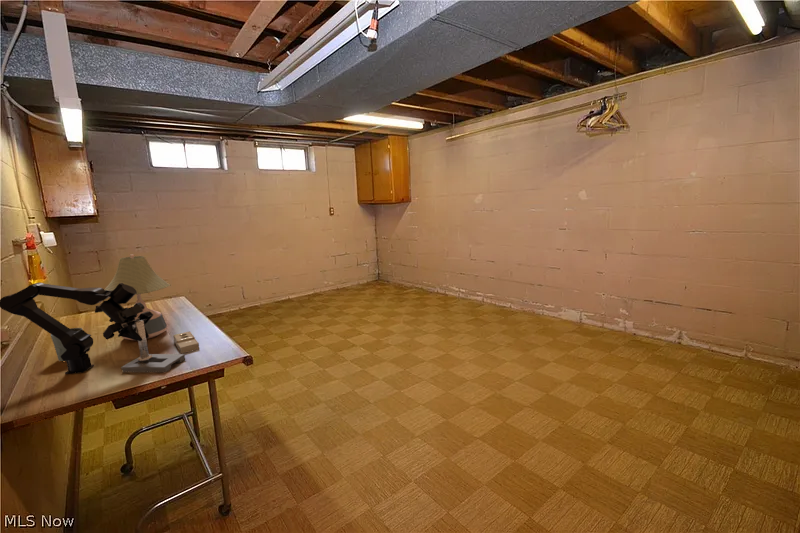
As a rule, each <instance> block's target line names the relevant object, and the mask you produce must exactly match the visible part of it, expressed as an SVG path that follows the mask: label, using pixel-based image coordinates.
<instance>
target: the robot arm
mask: <svg viewBox="0 0 800 533" xmlns="http://www.w3.org/2000/svg"><path fill="white" fill-rule="evenodd" d="M104 289H105V288H103V287H82V288H79V287H71V286H63V285H56V284H50V283H43V282H36V283H33V284H29V285H28V286H27V287H26V288H23V289H22V290H19V291H17V292H15V293H11V294H8V295H5V296H3V297H1V298H0V308H1V310H3V311H5V312H7V313H9V314H12V315H16V316H20V317H24V318H26V319H27V320H29V321H30V322H32V323H33V324H34V325H37V326H38V327H40V328H41V329H42V330H44V331H45V332H47V333H49V334H50V335H51V334H52V335H53V336H55V337H56V338H58V339H59V340H60V341H61V343H62V345H63V347H64V348H65V349H66V351H65V352H64V353H63V354H62V355H61V358H62V359H63V361H66V366H67V371H66V372H64V374H65V375H71V374H82V373H84V372H86V371H87V370H89V369H92V367H94V364H92V362H91V358H90V356H89V353H88V352H90V349H91V347H92V346H93V345H94V338H93V337H92V335H91V334H89V333H87V332H86V331H85V330H80V331H78V332H77V331H73V330H71V328H69V327H68V326H66V325H65V324H63V322H60V321H59V320H57V319H56V318H55V317H53V316H51V314H49V313H47V312H45V311H44V310H43V309H41V308H39V307H38V304H37V302H36V301H35V298H36V297H38V296H44V297H51V298H52V297H53V298H61V299H68V300H74V301H77V303H78V302H79V303H81V304H84V305H88V306H95V309H94V313H95V314H96V313H104V314H105V315H106V316H107V317H108V318H109V320H108V321H109V322H110V323H113V322H114V323H113V324H110V325H108V326H107V327H106V329H105V330H104V331H103V332H102V336H103V338H104V339H105V340H107V341H108V340H110V339H112V338H114V336H115V333H117V332H118V335H117V337H119V338H120V337H121V338H122V337H126V338H130V339H134V340H135V341H137V342H138V341H142V338H141V337H140V336H139V335H138V334H137V333H136V327H135V321H139V320H143V321H144V328H145V324H146V323H148V321H149V320H150V319H151V318H152V316H153V314H152V313H151V312H150V311H147V312H144V313H142V314H140V315H139V317H138V318H137V319H135V317H137V314H138V313H140V312H143V309H144V308H145V307H144V305H143V304H141V303H140V302H139V303H136V304H135V303H134V304H133V306H130V307H123V305H125V304H127V303H128V302H130V300H131V299H133V297H134V296H136V295H137V294H136V293H137V291H136V290H135V289H134V288H133V287H131V286H129V285H125V284H123V283H120V284H118V285H117V287H116V288H115V289H114V290H113V291H110V290H104ZM101 302H102V303H101ZM98 303H99V305H97V304H98ZM122 304H123V305H122ZM132 326H133V327H134V329H133V328H132ZM145 334H146V338H148V337H149V335H148V333H147V330H146V328H145Z"/></svg>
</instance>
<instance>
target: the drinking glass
mask: <svg viewBox="0 0 800 533" xmlns="http://www.w3.org/2000/svg"><path fill="white" fill-rule="evenodd" d="M70 329H71V330H73V331H77V332H78V331H80V330H83V327H73V328H70ZM50 338H51V341H52V343H53V346H54V350H55V353H56V355H57V360H58V361H59V362H60V361H63V359H62V358H61V355H62V354H63V353H64V352H65V351H66V349H65V348H64V347H63V345H62V343H61V341H60V340H59V339H58V338H56V337H55V336H53V335H52V334H50Z"/></svg>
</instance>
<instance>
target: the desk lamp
mask: <svg viewBox="0 0 800 533" xmlns="http://www.w3.org/2000/svg"><path fill="white" fill-rule="evenodd" d="M120 283H123V284H125V285H129V286H131V287H133V288H134V289H135V290H136V291H137V293H136V294H135V295H136V302H135V303H134V305H135V304H136V303H139V302H140V303H141V304H143V305H144V307H145V308H144V309H143V312H140V313H138V314H137V317H135V319H137V318H138V317H139V315H140V314H142V313H144V312H147V311H150V312H151V313H152V314H153V316H152V318H151V319H150V320H149V321H148V323H146V324H145V328H146V330H147V333H148V335H149V337H148V338H146V340H149V339H152V338H155V337H156V338H157V336H160V335H161V334H162V333H164V332H165V331H166V330H167V329H168V325H167V322H166V320H165V319H164V317H163V316H164V315H163V314H162V313H161V312H160V311H157V310H154V309H151V308H148V307H147V306H148V305H147V304H146V301H145V300H143V298H142V295H141V294H148V293H152V292H156V291H159V290H163V289H165V288H168V287H170V286H171V284H170V283H168V282H167V281H166V280H164V279H163V278H162V277H161V276H160V275H158V274H157V273H156V271H155V270H154V269H153V268H152V267H151V265H150V264H149V262H148V260H147V259H146V257H145V256H144V255H138V256H137V255H136V256H135V254H129V256H127V257H122V258H119V260H118V264H117V269H116V271H115V274H114V276H113V277H112V280H111V281H110V282H109V284H108V285H107V286H106V287H105V288H103V289H104V290H110V291H113V290H114V289H115V288H116V287H117V285H118V284H120ZM132 328H133V329H134V327H133V326H132ZM121 338H122V339H125V340H130V341H136V340H134V339H130V338H126V337H122V336H121Z"/></svg>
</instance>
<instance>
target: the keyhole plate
mask: <svg viewBox="0 0 800 533" xmlns="http://www.w3.org/2000/svg"><path fill="white" fill-rule="evenodd" d="M149 354H150V355H152V358H151V359H149V360H147V361H138V357H137V358H135V359H133V360H131V361H130V362H128V363H126V364H124V365H122V366H121V367H120V369H121V370H122V371H121V372H122V373H167V372H169V371H170V370H172V365H173V364H174V363H175V364H179V363H182V362H184V361H185V360H186V353H182V354H181V353H149Z"/></svg>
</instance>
